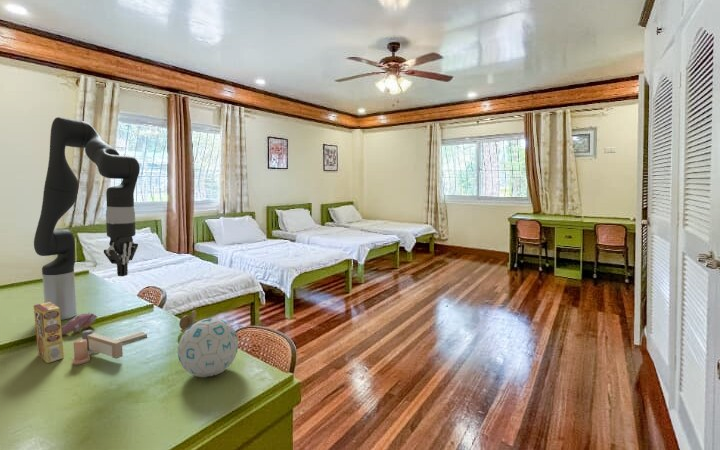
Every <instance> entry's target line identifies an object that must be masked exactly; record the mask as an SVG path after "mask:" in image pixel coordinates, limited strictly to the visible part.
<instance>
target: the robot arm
mask: <svg viewBox="0 0 720 450" xmlns="http://www.w3.org/2000/svg"><path fill="white" fill-rule="evenodd" d="M49 135H50V136H49V137H50V138H49V157H48V166H47V171H46V177H45V182H44V186H43V193H42V194H43V196H42V204H41V211H40V215H39V220H38V222H37V226H36V231H35V234H34V237H33V246H34V247H33V249H34V251H35V254H37V255H38V256H40V257H48V256H57V257H56V258H55V259H54V260H52V261H50V262H48V263H46V264H44V265H43V266H42V267H41V273H42V274H41V275H42V276H41V277H42V287H43V288H42V289H43V301H44V303H48V302H51V303H53V304H54V305H56V306H57V307H59V308H60V317H61V321H63V320H68V319H73V318H75V317H77V316H78V314H77V313H78V312H77V299H76V298H77V295H76V281H75V263H76V259H75V257H76V254H75V253H76V249H75V248H76V243H75V242H76V241H75V236H74V234H73V232H72V231H71V230H70V229H65V228H62V229H55V227H56V226H57V224H58V222H59V220H60V219H61V218H62V217H63V216H64V215H65V214H66V213H67V212H69V210H71V208H72V207H73V206H74V204H75V203H76V201H77V197H78V191H79V186H80V184H79V180H78V178H77V176H76V174H75V173H74V171H73V170H72V168H71V167H70V165H69V163H68V160H67V158H66V147H71V148H80V149H82V148H84V152H85V155H86V156H87V158H88V159H89V160H90V161H91V162H93V163H94V164H95V165H96V167H97V170H98V172H99V174H100V176H102V177H103V178H106V179H115V180H117V179H118V180H119V179H121V180H122V181H121V183H120V184H119V185H116V186H110V187H108V188H107V189H106V190H105V195H106V210H105V224H106V225H105V226H106V228H105V229H106V236H107V237H108V238H109V239H110V240H109V247H108V248H107V249H104V250H103V254H104V255H105V257H106V258H107V259H108V260H109V262H110V263H111V264H113V265H116V274H117V277H125V276H128V273H129V271H128V270H129V269H128V268H129V267H128V264H129V263H130V261H132V260H133V259H134V256H135V254H136V252H137V249H138V246H139V243H135V242H134V239H133V237H135V236H136V212H135V201H134V199H135V197H134V194H135V189H136V185H137V182H138V178H139V176H140V171H141V170H140V167H141V166H140V162H139V161H138V160H137V158H135V157H134V156H130V155H120V153H119V152H118V151H117V150H116V149H115V148H114V147H113V146H111V145H109V144H108V143H107V142H106V141H104V139H103V138H102V137H101V135H100V134H99V133H98V131H97V130H96V129H95V128H94V126H92V125H91V124H90V123H88V122H87V121H83V120H78V119H74V118H67V117H61V116H60V117H55V118H54V119H53V121H52V124H51V129H50V134H49Z"/></svg>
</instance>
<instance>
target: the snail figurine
mask: <svg viewBox="0 0 720 450" xmlns="http://www.w3.org/2000/svg"><path fill="white" fill-rule="evenodd" d="M192 309H194V310H192V311H191V313H190V314H191V315H189V314H186V315H183V316H182V317H181V318H180V319H179V327H180V332H181V333H179V335H178V336H177V344H178V345H179V342H180V339H181V337H182V335H183V334H184V332H185V331H186V330H187V328H189V327H190V326H191V325H192V324H193V325H194V323H196V314H197V311H196V310H197V307H196V306H193V307H192Z"/></svg>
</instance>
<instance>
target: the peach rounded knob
mask: <svg viewBox="0 0 720 450" xmlns="http://www.w3.org/2000/svg"><path fill="white" fill-rule="evenodd" d="M73 353H74V354H73V356H74V358H72V364H73V365H75V366H77V365H78V366H79V365H83V364H86V363H88V362H91V355H88V352H87V340H86V339H82V338H81V339H77V340H75V341H73Z"/></svg>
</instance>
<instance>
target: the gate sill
mask: <svg viewBox="0 0 720 450" xmlns="http://www.w3.org/2000/svg"><path fill="white" fill-rule="evenodd" d="M147 337H148V333H146V332H144V331H142V330H140V331H137V332H133V333H130V334H126V335H124V336H120V337H117V338H115V339H116V340H119V341H122V345H124V344H128V343H131V342H135V341H138V340H142V339H144V338H147ZM87 352H88V355H89V356H91V355H93V354H96V353H98V352H96V351H93V350H87Z"/></svg>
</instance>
